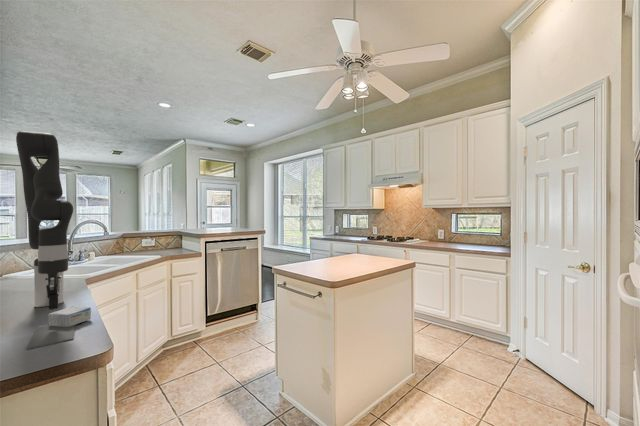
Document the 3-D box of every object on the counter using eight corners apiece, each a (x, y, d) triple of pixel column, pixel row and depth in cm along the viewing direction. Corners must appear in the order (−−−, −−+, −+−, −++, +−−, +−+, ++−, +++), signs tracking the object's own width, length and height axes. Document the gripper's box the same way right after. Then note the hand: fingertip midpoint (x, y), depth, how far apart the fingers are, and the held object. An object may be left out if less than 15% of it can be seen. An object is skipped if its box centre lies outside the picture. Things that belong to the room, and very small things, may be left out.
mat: (36, 328, 96) (36, 327, 96) (75, 321, 102) (75, 320, 102) (26, 349, 80) (26, 348, 80) (73, 339, 87) (73, 338, 87)
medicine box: (47, 326, 97) (68, 327, 95) (47, 313, 97) (68, 314, 95) (72, 317, 104) (91, 319, 103) (72, 305, 104) (91, 307, 103)
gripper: (40, 257, 99) (40, 306, 99) (35, 261, 89) (35, 316, 89) (68, 255, 104) (69, 302, 104) (66, 259, 94) (67, 311, 94)
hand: (53, 308), depth 96 cm, fingers closed
